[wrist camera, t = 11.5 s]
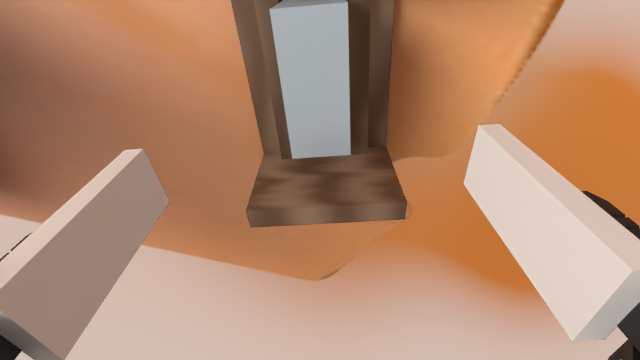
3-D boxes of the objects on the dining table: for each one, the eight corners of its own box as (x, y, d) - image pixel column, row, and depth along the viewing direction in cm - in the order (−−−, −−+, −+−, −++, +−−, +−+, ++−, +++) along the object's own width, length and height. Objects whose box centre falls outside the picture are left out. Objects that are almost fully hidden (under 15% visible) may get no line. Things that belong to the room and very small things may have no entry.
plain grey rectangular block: (299, 109, 31) (292, 158, 22) (286, -2, 25) (269, 9, 17) (342, 106, 30) (350, 154, 22) (338, -7, 25) (348, 2, 16)
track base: (268, 163, 36) (250, 227, 27) (212, -105, 22) (135, -164, 13) (382, 155, 35) (404, 219, 26) (398, -126, 21) (457, -202, 12)
